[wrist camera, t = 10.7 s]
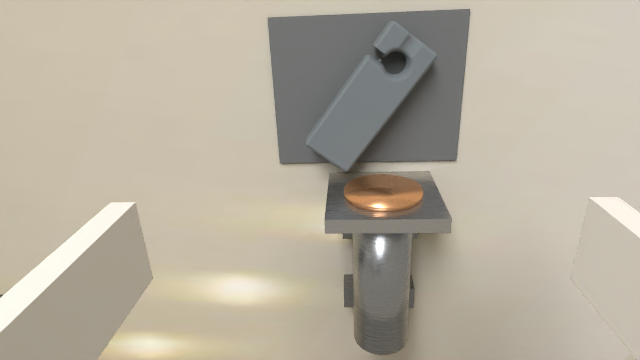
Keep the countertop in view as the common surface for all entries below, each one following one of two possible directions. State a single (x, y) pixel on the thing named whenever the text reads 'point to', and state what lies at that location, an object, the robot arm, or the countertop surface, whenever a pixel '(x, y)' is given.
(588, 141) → the countertop surface
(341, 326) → the countertop surface
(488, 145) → the countertop surface
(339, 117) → the bracket
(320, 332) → the countertop surface
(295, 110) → the mount pad
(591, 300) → the robot arm
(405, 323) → the pipe fixture
